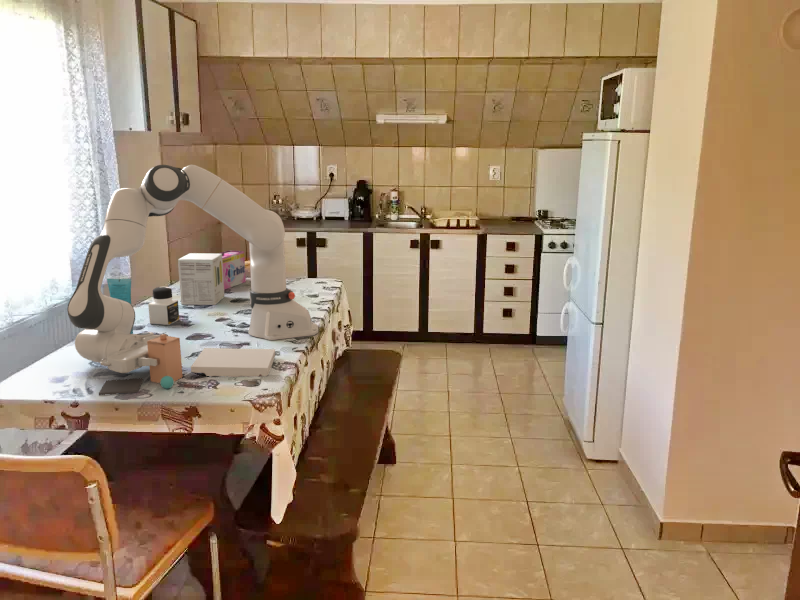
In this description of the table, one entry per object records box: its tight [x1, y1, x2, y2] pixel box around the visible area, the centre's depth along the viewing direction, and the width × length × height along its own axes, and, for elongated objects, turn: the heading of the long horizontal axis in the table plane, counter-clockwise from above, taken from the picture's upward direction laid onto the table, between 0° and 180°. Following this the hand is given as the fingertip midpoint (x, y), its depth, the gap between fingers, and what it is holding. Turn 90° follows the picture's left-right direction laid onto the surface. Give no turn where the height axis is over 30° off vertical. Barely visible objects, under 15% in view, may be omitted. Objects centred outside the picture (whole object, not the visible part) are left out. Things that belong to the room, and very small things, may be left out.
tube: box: [106, 278, 134, 334], centre depth 205 cm, size 7×5×19 cm, turn 96°
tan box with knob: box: [147, 333, 183, 384], centre depth 172 cm, size 6×6×12 cm
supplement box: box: [177, 252, 226, 306], centre depth 252 cm, size 13×13×18 cm
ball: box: [159, 376, 175, 390], centre depth 167 cm, size 3×3×3 cm
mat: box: [98, 377, 144, 396], centre depth 167 cm, size 9×9×1 cm
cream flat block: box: [190, 347, 276, 378], centre depth 182 cm, size 15×3×20 cm
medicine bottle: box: [147, 286, 180, 326], centre depth 224 cm, size 7×7×12 cm
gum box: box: [217, 249, 247, 291], centre depth 276 cm, size 24×8×14 cm, turn 161°
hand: (167, 358), depth 171 cm, fingers closed on tan box with knob, 6 cm apart
